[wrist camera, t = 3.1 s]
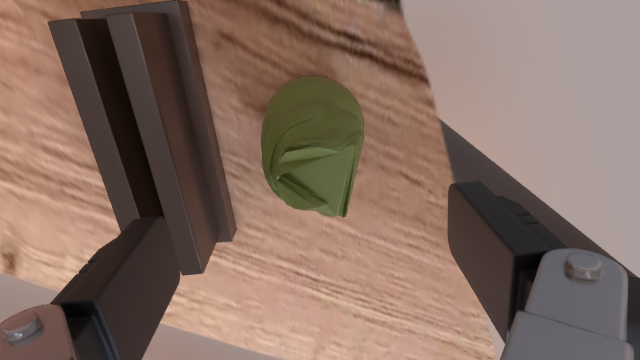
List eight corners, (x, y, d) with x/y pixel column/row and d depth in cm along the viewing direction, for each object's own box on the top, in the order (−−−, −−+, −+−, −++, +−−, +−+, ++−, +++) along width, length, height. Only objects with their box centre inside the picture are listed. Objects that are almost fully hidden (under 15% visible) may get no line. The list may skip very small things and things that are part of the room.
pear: (276, 60, 22) (249, 92, 13) (367, 78, 23) (405, 120, 13) (263, 153, 24) (232, 237, 15) (347, 167, 25) (368, 257, 15)
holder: (186, 1, 21) (145, -5, 16) (236, 229, 26) (218, 280, 21) (94, 12, 21) (25, 10, 16) (163, 237, 26) (127, 289, 21)
